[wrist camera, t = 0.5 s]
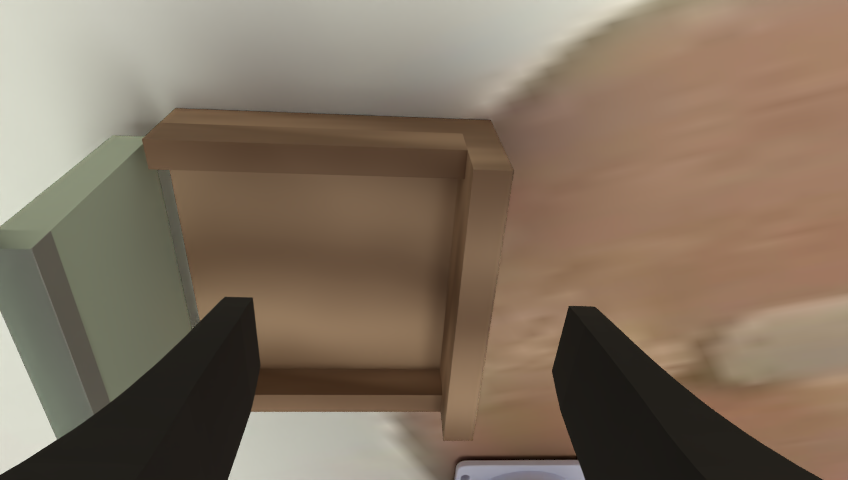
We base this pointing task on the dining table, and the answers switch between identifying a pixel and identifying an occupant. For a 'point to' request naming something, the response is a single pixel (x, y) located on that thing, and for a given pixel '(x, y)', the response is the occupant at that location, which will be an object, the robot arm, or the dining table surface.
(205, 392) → the robot arm
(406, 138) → the tray
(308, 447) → the dining table surface
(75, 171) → the panel
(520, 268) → the dining table surface
